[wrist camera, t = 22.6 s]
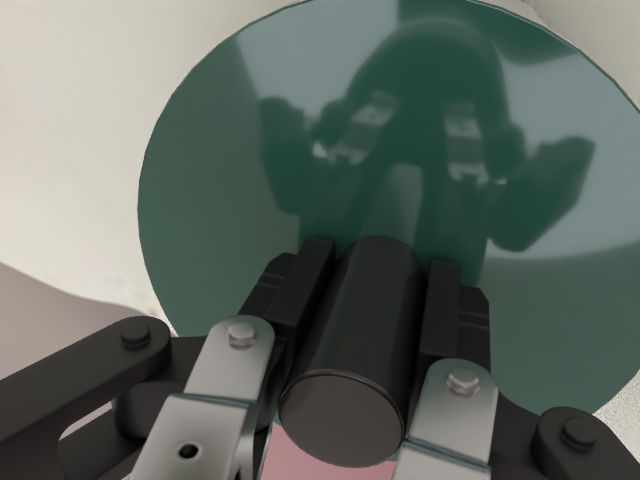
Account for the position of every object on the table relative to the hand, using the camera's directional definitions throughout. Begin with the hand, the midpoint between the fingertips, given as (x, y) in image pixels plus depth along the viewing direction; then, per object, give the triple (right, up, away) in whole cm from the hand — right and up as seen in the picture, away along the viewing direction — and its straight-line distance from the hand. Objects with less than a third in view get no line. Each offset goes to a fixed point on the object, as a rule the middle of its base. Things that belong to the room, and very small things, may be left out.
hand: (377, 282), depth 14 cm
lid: (0, 0, +1) cm, 1 cm away
